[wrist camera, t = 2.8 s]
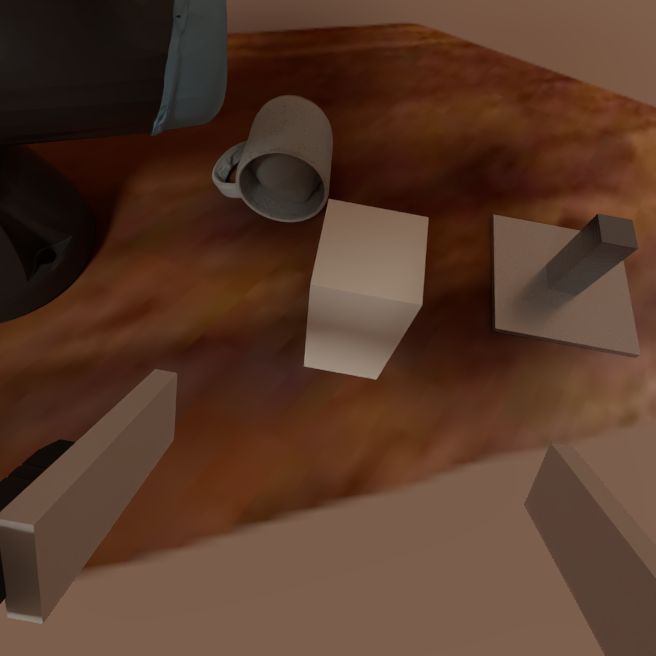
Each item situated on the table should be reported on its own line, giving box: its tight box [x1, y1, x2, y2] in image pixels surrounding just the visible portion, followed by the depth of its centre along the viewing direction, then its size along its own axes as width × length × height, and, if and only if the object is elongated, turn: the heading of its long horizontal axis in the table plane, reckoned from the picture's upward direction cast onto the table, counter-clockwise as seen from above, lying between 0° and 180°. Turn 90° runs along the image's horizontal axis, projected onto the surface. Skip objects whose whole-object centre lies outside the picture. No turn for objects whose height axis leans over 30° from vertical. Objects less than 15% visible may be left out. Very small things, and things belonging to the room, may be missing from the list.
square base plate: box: [491, 214, 641, 358], centre depth 33 cm, size 12×12×7 cm
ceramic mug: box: [212, 95, 333, 222], centre depth 35 cm, size 11×8×8 cm
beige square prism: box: [304, 199, 429, 379], centre depth 26 cm, size 6×6×12 cm
